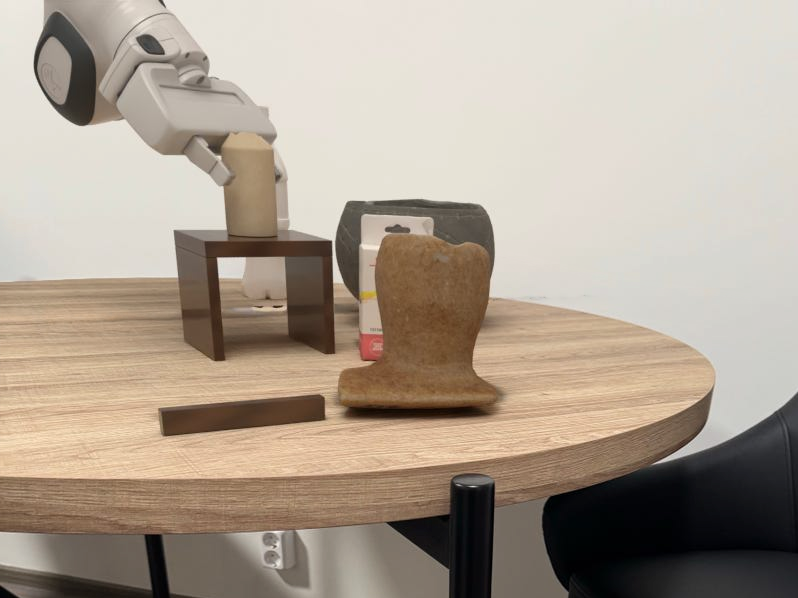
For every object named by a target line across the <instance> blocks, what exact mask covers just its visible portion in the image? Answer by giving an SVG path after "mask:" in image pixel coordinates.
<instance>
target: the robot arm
mask: <svg viewBox="0 0 798 598" xmlns="http://www.w3.org/2000/svg"><path fill="white" fill-rule="evenodd" d="M42 24H43V25H42V31H41V33H40V36H39V38H38V41H37V43H36V46H35V50H34V55H33V72H34V76H35V79H36V82H37V83H38V86H39V88H40V90H41V91H42V93H43V95H44V97H45V98H46V100H47V101H48V102H49V104H50V105H51V106H52V108H53V109H54V110H55V111H56V112H57V113H58V115H60V116H61V117H62V118H63V119H65V120H66V121H68V122H69V123H71V124H73V125H76V126H78V127H86V126H96V125H100V124H105V123H111V122H119V121H123V120H125V121H126V123H127V124H128V125H129V126H130V127H131V128H132V130H133V131H134V132H135V133H136V134H137V135H138V136H139V137H140V139H141V140H142V141H143V142H144V143H145V145H147V146H148V147H149V148H151V149H152V150H154V151H155V152H157V154H158V153H159V154H160V155H162V156H185V157H186V158H187V159H188V160H189V162H190V163H192V164H193V165H195V167H197V168H199V169H200V170H201V171H203V172H204V173H206V174H207V175H209V176H210V178H211V179H212V180H213V182H214V183H215V185H217V186H218V187H223V186H230V184H231V183H232V181H233V180H234V179H235V177H236V174H235V172H234V171H233V170H232V169H231V167H230V166H229V164H228V163H227V162H226V161H221V158H219V157H221V145H222V144H223V143H224V141H225V140H226V139H227V137H228V136H229V134H230V133H231V132H232V133H233V134H238V133H240V132H246V133H255V134H257V135H258V136H261V137H262V138H263V139H264V140H265V141H266V142H268V143H269V144H270V145H272V144H273V143H274V142H275V141H276V140H277V137H278V132H277V130H276V127H275V125H274V124H273V123H272V121H271V119H270V118H269V119H268V118H267V117H266V115H265V114H264V113H263V112H262V111H261V110H260V109H259V107H258V106H259V105H257V104H256V103H255V101H253V99H252V98H251V97H250V96H249V95H248V94H247V93H246V92H245V91H244V90H243V89H242V88H241V87H239V86H238V84H236V83H234V82H232V81H230V80H225V79H220V78H219V77H216V76H209V73H210V59H209V57H208V55H207V54H206V52H205V51H204V50H203V48H202V47H201V46H200V45H199V43H198V42H197V41H196V40H195V39H194V37H193V36H192V35H191V34H190V32H189V31H188V30H187V28H186V27H185V25H183V23H182V22H181V21H180V19H178V16H176V15H175V14H174V12H172V11H171V10H169V9H168V8H167V6H166V3H165V2H164V0H43V22H42ZM274 164H275V184H277V183H278V182H279V181H280V179H281V178H282V176H283V173H282V171H281V170H280V169H279V167H278V166H277V165H276V163H275V162H274Z"/></svg>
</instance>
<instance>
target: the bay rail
mask: <svg viewBox="0 0 798 598" xmlns="http://www.w3.org/2000/svg"><path fill="white" fill-rule="evenodd" d="M157 415H158V423H159V431H160V433H161V435H163V436H174V435H184V434H185V435H186V434H193V433H203V432H204V433H205V432H215V431H224V430H225V431H226V430H234V429H245V428H254V427H265V426H274V425H275V426H276V425H285V424H295V423H305V422H313V421H314V422H315V421H325V420H326V398H325V396H324V395H322V394H320V393H316V394H305V395H304V394H303V395H294V396H281V397H280V396H279V397H269V398H259V399H248V400H247V399H246V400H236V401H235V400H234V401H223V402H222V401H221V402H212V403H200V404H190V405H189V404H188V405H187V404H186V405H177V406H176V405H175V406H167V407H166V406H165V407H157Z"/></svg>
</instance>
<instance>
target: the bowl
mask: <svg viewBox="0 0 798 598" xmlns="http://www.w3.org/2000/svg"><path fill="white" fill-rule="evenodd" d="M364 214H368V215H392V216H411V217H430V218H432V219H433V221H434V228H433V236H435V237H437V238H439V239H441V240H444V241H445V242H448V243H450V244H452V245H461V244H463V243H465V242H471V243H475V244H478V245H480V246H482V247H483V248H485V250H486V251H487V252H488V254H489V257H490V270H491V272H490V280H491V279H492V276H493V272H494V267H495V258H496V249H495V248H496V244H495V234H494V228H493V224H492V220H491V217H490V215H489V213H488V212H487V209H485V208H484V207H483V205H481V204H479V203H473V202H456V201H448V200H447V201H446V200H445V201H443V200H442V201H441V200H431V199H424V198H408V199H407V198H404V199H389V200H388V199H387V200H368V201H366V200H348V201H346V203H345V205H344V208H343V209H342V213H341V215H340V217H339V218H340V219H339V222H338V225H337V229H336V232H335V240H334V249H335V250H334V251H335V252H334V253H335V259H336V264H337V267H338V271H339V274H340V276H341V279H342V282H343V284H344V286H345V287H346V289H347V290H348V291H349V293H350V294H351V295H352V296H353V297H354V299H356V300H357V301H358V302H359V245H360V244H361V217H362V215H364ZM385 232H387V233H410V229H409V228H408V227H401V226H400V225H399V224H396V225H395V226H393V227H386V228H385Z"/></svg>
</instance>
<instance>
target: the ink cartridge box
mask: <svg viewBox="0 0 798 598" xmlns="http://www.w3.org/2000/svg"><path fill="white" fill-rule="evenodd" d="M396 224H399V225H400V226H401V227H408V228H409V229H410V233H411V234H417V235H429V236H433V228H434V221H433V219H432V218H430V217H411V216H392V215H368V214H364V215H362V217H361V244H360V245H359V301H358V349H359V353H360V356H361V359H362V360H363V361H365V360H367V361H368V360H369V361H377V360H378V359H379V357H380V356H381V354H382V352H383V332H382V326H381V319H380V312H379V307H378V302H377V294H376V287H375V265H376V260H377V255H378V251H379V248H380V245H381V242H382V239H383V238H384V237H385V236H386V235H387V234H390V233H387V232H385V228H386V227H393V226H395V225H396Z"/></svg>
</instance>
